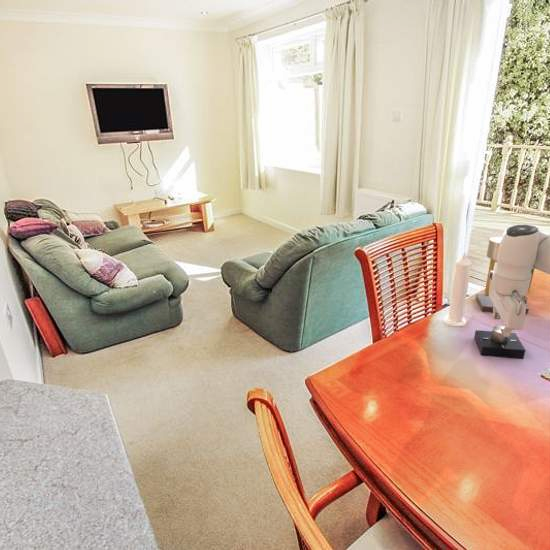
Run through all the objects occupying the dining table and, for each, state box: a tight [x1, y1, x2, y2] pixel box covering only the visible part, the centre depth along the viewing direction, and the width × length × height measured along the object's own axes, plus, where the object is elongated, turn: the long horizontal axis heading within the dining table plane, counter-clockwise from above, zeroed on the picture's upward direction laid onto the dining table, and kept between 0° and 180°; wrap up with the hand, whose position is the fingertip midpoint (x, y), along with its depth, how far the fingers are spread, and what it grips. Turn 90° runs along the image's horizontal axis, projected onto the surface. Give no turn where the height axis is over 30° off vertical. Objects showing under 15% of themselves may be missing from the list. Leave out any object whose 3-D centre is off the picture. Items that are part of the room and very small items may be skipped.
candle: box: [443, 252, 472, 328], centre depth 121 cm, size 7×7×25 cm
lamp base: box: [475, 293, 529, 315], centre depth 133 cm, size 15×10×4 cm
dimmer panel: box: [473, 329, 526, 360], centre depth 111 cm, size 11×9×3 cm
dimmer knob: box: [491, 325, 509, 344], centre depth 110 cm, size 4×4×4 cm
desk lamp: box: [483, 236, 502, 297], centre depth 129 cm, size 6×6×21 cm
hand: (500, 326), depth 109 cm, fingers open, 8 cm apart
